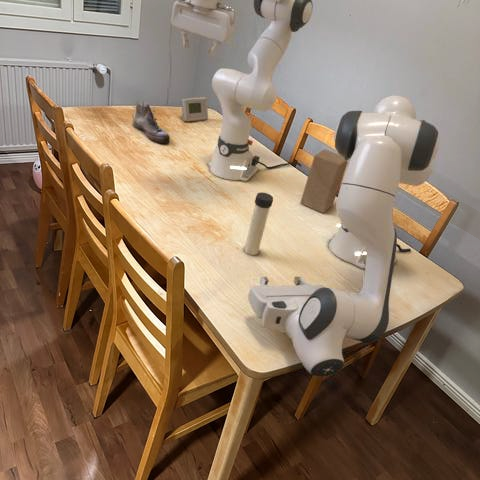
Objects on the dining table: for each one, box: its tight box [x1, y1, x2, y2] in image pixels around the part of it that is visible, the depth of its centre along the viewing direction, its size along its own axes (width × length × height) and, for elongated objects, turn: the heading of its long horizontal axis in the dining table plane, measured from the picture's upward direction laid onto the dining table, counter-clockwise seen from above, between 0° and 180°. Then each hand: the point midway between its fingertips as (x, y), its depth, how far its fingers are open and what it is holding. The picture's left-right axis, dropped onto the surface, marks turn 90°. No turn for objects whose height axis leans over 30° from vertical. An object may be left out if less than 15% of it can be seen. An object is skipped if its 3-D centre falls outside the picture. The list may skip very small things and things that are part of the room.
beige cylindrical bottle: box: [244, 203, 271, 256], centre depth 130 cm, size 4×4×18 cm
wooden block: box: [300, 148, 348, 214], centre depth 165 cm, size 10×10×20 cm
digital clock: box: [181, 96, 209, 123], centre depth 223 cm, size 16×9×11 cm, turn 123°
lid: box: [254, 192, 274, 209], centre depth 125 cm, size 5×5×2 cm
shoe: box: [132, 101, 171, 145], centre depth 195 cm, size 25×11×12 cm, turn 30°
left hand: (198, 51), depth 131 cm, fingers open, 8 cm apart
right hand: (280, 278), depth 113 cm, fingers open, 8 cm apart
